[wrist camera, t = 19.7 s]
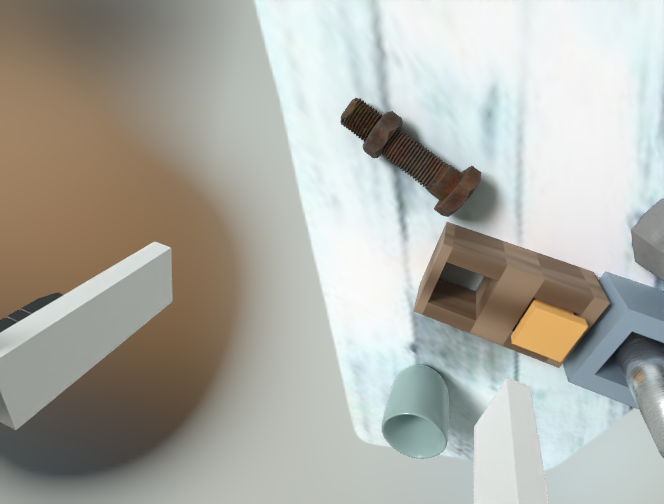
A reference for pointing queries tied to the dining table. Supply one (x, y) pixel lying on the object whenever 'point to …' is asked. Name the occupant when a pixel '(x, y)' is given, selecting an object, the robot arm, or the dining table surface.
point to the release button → (548, 329)
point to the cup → (417, 413)
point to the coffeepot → (650, 240)
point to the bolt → (410, 155)
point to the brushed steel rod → (645, 380)
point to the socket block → (503, 287)
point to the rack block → (615, 336)
